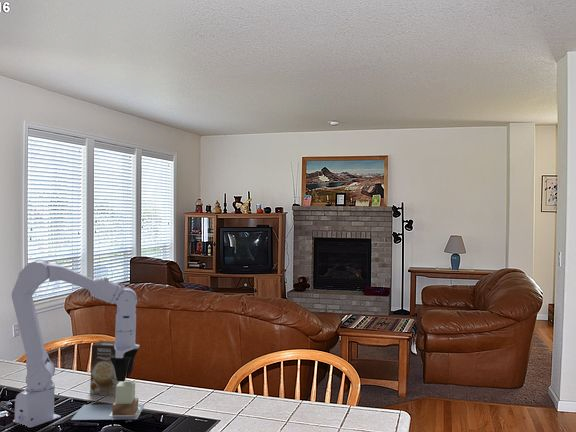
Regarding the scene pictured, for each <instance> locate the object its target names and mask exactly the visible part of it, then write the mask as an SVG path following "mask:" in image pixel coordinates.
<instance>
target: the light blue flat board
mask: <svg viewBox="0 0 576 432" xmlns="http://www.w3.org/2000/svg"><path fill="white" fill-rule="evenodd" d="M145 406H146V404H142V403H140V404H139V403H138V409H137V411H136V412H135V414H134V415H112V407H113V404H83V405H82V406H81V408H80V409H79V410H78V411H77V412H76V413H75V414H74V415H73V417H72V418H71V419H70V421H80V420H81V421H88V420H89V421H90V420H91V421H95V420H98V421H99V420H114V421H115V420H117V421H118V420H138V418H139V416H140V415H141V412H143V409H145Z"/></svg>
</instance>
